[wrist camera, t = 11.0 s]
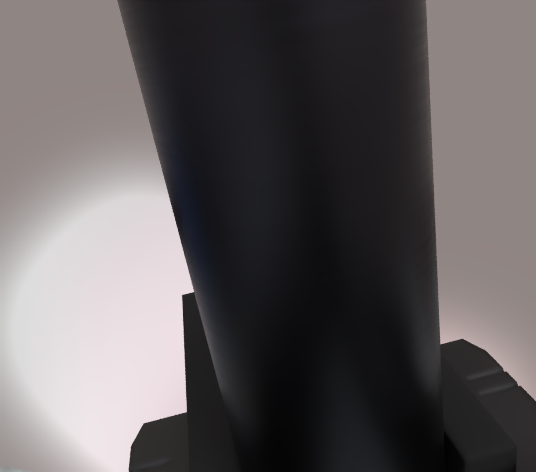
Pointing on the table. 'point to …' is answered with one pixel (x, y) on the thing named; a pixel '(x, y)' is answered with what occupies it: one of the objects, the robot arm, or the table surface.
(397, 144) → the blade
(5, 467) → the table surface
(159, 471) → the robot arm
